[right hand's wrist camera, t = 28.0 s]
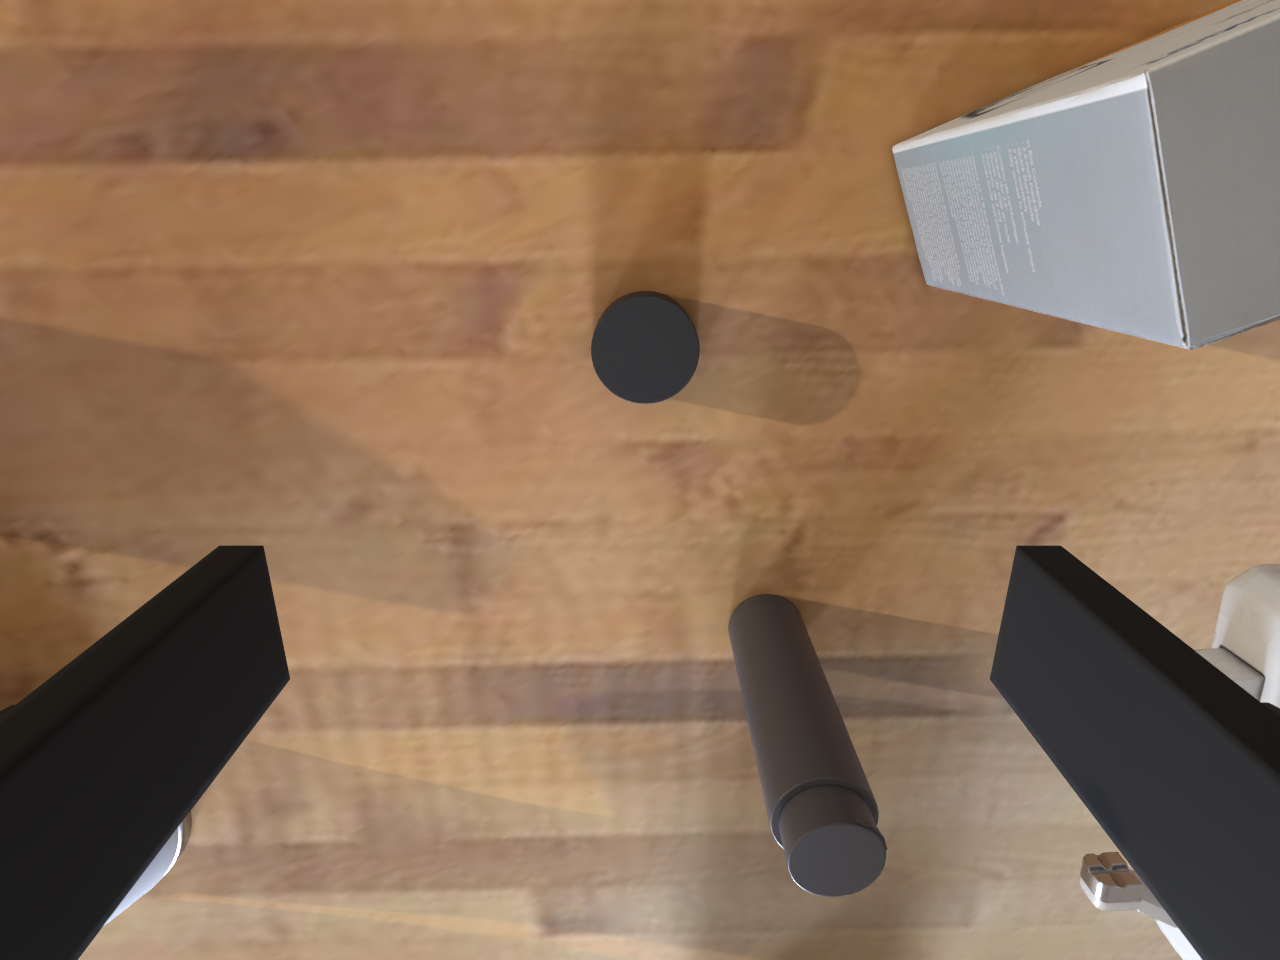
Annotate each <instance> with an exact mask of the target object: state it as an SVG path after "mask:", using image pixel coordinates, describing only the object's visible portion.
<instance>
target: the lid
mask: <svg viewBox="0 0 1280 960" xmlns="http://www.w3.org/2000/svg"><path fill="white" fill-rule="evenodd" d="M591 355H592V362H593V365H594V368H595V371H596V373H597V375H598V377H599V379H600V380H601V382H602V383H603V384H604V385H605V386H606V387H607V388H608V390H610V391H611V392H612V393H613V394H615V395H616V396H618V397H620V398H622V399H624V400H626V401H630V402H633V403H639V404H650V403H657V402H661V401H664V400H666V399H668V398H670V397H672V396H674V395H675V394H677V393H678V392H680V391H681V390H682V389H683V388H684V387H685V386H686V384H687V383H688V382H689V381H690V379H691V378H692V376H693V374H694V372H695V370H696V367H697V364H698V359H699V340H698V336H697V333H696V330H695V327H694V325H693V323H692V321H691V319H690V317H689V316H688V314H687V313H686V311H685V310H684V309H683V308H682V307H681V306H680V305H679V304H678V303H677V302H676V301H674V300H673V299H671V298H670V297H667V296H665V295H663V294H660V293H656V292H650V291H641V292H634V293H630V294H627V295H625V296H623V297H621V298H619V299H617V300H616V301H615V302H613V303H612V304H611V305H610V306H609V307H608V308H607V309H606V310H605V311H604V313H603V314H602V316H601V317H600V319H599V321H598V324H597V326H596V329H595V331H594V334H593V338H592V344H591Z"/></svg>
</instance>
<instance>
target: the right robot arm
mask: <svg viewBox="0 0 1280 960" xmlns="http://www.w3.org/2000/svg"><path fill="white" fill-rule="evenodd" d="M289 680H290V676H289V671H288V666H287V661H286V656H285V651H284V646H283V641H282V636H281V631H280V626H279V622H278V617H277V612H276V607H275V602H274V597H273V592H272V587H271V582H270V577H269V572H268V567H267V562H266V557H265V552H264V547H263V546H218V547H217V548H216V549H215V550H213V551H212V552H211V553H209V554H208V555H207V556H206V557H204V558H203V559H202V560H201V561H199V562H198V563H197V564H195V565H194V566H193V567H192V568H190V569H189V570H188V571H186V572H185V573H184V574H183V575H181V576H180V577H179V578H178V579H176V580H175V581H174V582H172V583H171V584H170V585H169V586H167V587H166V588H165V589H163V590H162V591H161V592H160V593H158V594H157V595H156V596H154V597H153V598H152V599H151V600H149V601H148V602H147V603H146V604H144V605H143V606H142V607H140V608H139V609H138V610H137V611H135V612H134V613H133V614H131V615H130V616H129V617H128V618H126V619H125V620H124V621H123V622H121V623H120V624H119V625H117V626H116V627H115V628H114V629H112V630H111V631H110V632H108V633H107V634H106V635H105V636H103V637H102V638H101V639H100V640H98V641H97V642H96V643H94V644H93V645H92V646H91V647H89V648H88V649H87V650H85V651H84V652H83V653H82V654H80V655H79V656H78V657H77V658H75V659H74V660H73V661H71V662H70V663H69V664H68V665H66V666H65V667H64V668H62V669H61V670H60V671H59V672H57V673H56V674H55V675H54V676H52V677H51V678H50V679H48V680H47V681H46V682H45V683H43V684H42V685H41V686H39V687H38V688H37V689H36V690H34V691H33V692H32V693H31V694H29V695H28V696H27V697H25V698H24V699H23V700H22V701H20V702H19V703H18V704H16V705H11V706H10V707H8V708H6V709H4V710H2V711H0V960H78V959H79V957H80V956H81V955H82V953H83V952H84V951H85V949H86V948H87V947H88V945H89V944H90V943H91V941H92V940H93V939H94V937H95V936H96V935H97V934H98V932H99V931H100V930H101V928H102V927H103V926H105V925H106V924H107V923H108V922H110V921H111V920H112V919H114V918H115V917H116V916H117V915H119V914H120V913H121V912H122V911H124V910H125V909H126V908H127V907H129V906H130V905H131V904H132V903H134V902H135V901H136V900H137V899H139V898H140V897H141V896H143V895H144V894H145V893H147V892H148V891H149V890H150V889H152V888H153V887H154V886H155V885H156V884H157V883H158V882H159V881H160V880H161V879H162V878H163V877H164V876H165V875H166V873H167V872H168V871H169V870H170V868H171V867H172V866H173V864H174V863H175V861H176V860H177V859H178V857H179V856H180V855H181V853H182V851H183V850H184V848H185V846H186V844H187V842H188V839H189V836H190V831H191V809H192V808H193V807H194V805H195V804H196V803H197V801H198V800H199V799H200V797H201V796H202V795H203V793H204V792H205V791H206V789H207V788H208V787H209V786H210V784H211V783H212V782H213V780H214V779H215V778H216V776H217V775H218V774H219V772H220V771H221V770H222V768H223V767H224V766H225V764H226V763H227V762H228V760H229V759H230V758H231V756H232V755H233V754H234V752H235V751H236V750H237V749H238V747H239V746H240V745H241V743H242V742H243V741H244V739H245V738H246V737H247V735H248V734H249V733H250V731H251V730H252V729H253V727H254V726H255V725H256V723H257V722H258V721H259V719H260V718H261V717H262V715H263V714H264V713H265V711H266V710H267V709H268V708H269V706H270V705H271V704H272V702H273V701H274V700H275V698H276V697H277V696H278V694H279V693H280V692H281V690H282V689H283V688H284V686H285V685H286V684H287V682H288V681H289ZM990 680H991V681H992V682H993V684H994V685H995V686H996V688H997V689H998V690H999V692H1000V693H1001V694H1002V696H1003V697H1004V698H1005V700H1006V701H1007V702H1008V704H1009V705H1010V706H1011V708H1012V709H1013V710H1014V712H1015V713H1016V714H1017V715H1018V717H1019V718H1020V719H1021V721H1022V722H1023V723H1024V725H1025V726H1026V727H1027V729H1028V730H1029V731H1030V733H1031V734H1032V735H1033V737H1034V738H1035V739H1036V741H1037V742H1038V743H1039V745H1040V746H1041V747H1042V749H1043V750H1044V751H1045V752H1046V754H1047V755H1048V756H1049V758H1050V759H1051V760H1052V762H1053V763H1054V764H1055V766H1056V767H1057V768H1058V770H1059V771H1060V772H1061V774H1062V775H1063V776H1064V778H1065V779H1066V780H1067V782H1068V783H1069V784H1070V786H1071V787H1072V788H1073V789H1074V791H1075V792H1076V793H1077V795H1078V796H1079V797H1080V799H1081V800H1082V801H1083V803H1084V804H1085V805H1086V807H1087V808H1088V809H1089V811H1090V812H1091V813H1092V815H1093V816H1094V817H1095V819H1096V820H1097V821H1098V823H1099V824H1100V825H1101V826H1102V828H1103V829H1104V830H1105V832H1106V833H1107V834H1108V836H1109V837H1110V838H1111V840H1112V841H1113V842H1114V844H1115V845H1116V846H1117V848H1118V849H1119V850H1120V852H1121V853H1122V854H1123V856H1124V857H1125V858H1126V860H1127V861H1128V862H1129V863H1130V865H1131V866H1132V867H1133V869H1134V870H1135V871H1136V873H1137V874H1138V875H1139V877H1140V878H1141V879H1142V881H1143V882H1144V883H1145V885H1146V886H1147V887H1148V889H1149V890H1150V891H1151V893H1152V894H1153V895H1154V897H1155V898H1156V899H1157V900H1158V902H1159V903H1160V904H1161V906H1162V907H1163V908H1164V910H1165V911H1166V912H1167V914H1168V915H1169V916H1170V918H1171V919H1172V920H1173V922H1174V923H1175V924H1176V926H1177V927H1178V928H1179V930H1180V931H1181V932H1182V934H1183V935H1184V936H1185V937H1186V939H1187V940H1188V941H1189V943H1190V944H1191V945H1192V947H1193V948H1194V949H1195V951H1196V952H1197V953H1198V955H1199V956H1200V957H1201V959H1202V960H1280V708H1278V707H1276V706H1274V705H1272V704H1271V703H1269V702H1260V701H1258V700H1257V699H1256V698H1255V697H1253V696H1252V695H1251V694H1249V693H1248V692H1247V691H1246V690H1244V689H1243V688H1242V687H1241V686H1239V685H1238V684H1237V683H1235V682H1234V681H1233V680H1232V679H1230V678H1229V677H1228V676H1226V675H1225V674H1224V673H1223V672H1221V671H1220V670H1219V669H1218V668H1216V667H1215V666H1214V665H1212V664H1211V663H1210V662H1209V661H1207V660H1206V659H1205V658H1203V657H1202V656H1201V655H1200V654H1198V653H1197V652H1196V651H1195V650H1193V649H1192V648H1191V647H1189V646H1188V645H1187V644H1186V643H1184V642H1183V641H1182V640H1180V639H1179V638H1178V637H1177V636H1175V635H1174V634H1173V633H1172V632H1170V631H1169V630H1168V629H1166V628H1165V627H1164V626H1163V625H1161V624H1160V623H1159V622H1157V621H1156V620H1155V619H1154V618H1152V617H1151V616H1150V615H1149V614H1147V613H1146V612H1145V611H1143V610H1142V609H1141V608H1140V607H1138V606H1137V605H1136V604H1134V603H1133V602H1132V601H1131V600H1129V599H1128V598H1127V597H1126V596H1124V595H1123V594H1122V593H1120V592H1119V591H1118V590H1117V589H1115V588H1114V587H1113V586H1111V585H1110V584H1109V583H1108V582H1106V581H1105V580H1104V579H1102V578H1101V577H1100V576H1099V575H1097V574H1096V573H1095V572H1094V571H1092V570H1091V569H1090V568H1088V567H1087V566H1086V565H1085V564H1083V563H1082V562H1081V561H1079V560H1078V559H1077V558H1076V557H1074V556H1073V555H1072V554H1071V553H1069V552H1068V551H1067V550H1065V549H1064V548H1063V547H1062V546H1017V547H1016V552H1015V557H1014V562H1013V567H1012V572H1011V577H1010V582H1009V587H1008V592H1007V597H1006V602H1005V607H1004V612H1003V617H1002V621H1001V626H1000V631H999V636H998V641H997V646H996V651H995V656H994V661H993V666H992V671H991V676H990Z"/></svg>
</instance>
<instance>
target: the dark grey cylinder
mask: <svg viewBox="0 0 1280 960" xmlns="http://www.w3.org/2000/svg"><path fill="white" fill-rule="evenodd" d="M729 636H730V640H731V645H732V650H733V654H734V659H735V664H736V668H737V673H738V678H739V682H740V687H741V692H742V696H743V701H744V706H745V710H746V715H747V720H748V725H749V729H750V734H751V739H752V743H753V748H754V753H755V757H756V762H757V767H758V771H759V776H760V781H761V785H762V790H763V795H764V799H765V804H766V809H767V813H768V818H769V823H770V827H771V831H772V834H773V836H774V838H775V840H776V841H777V843H778V844H779V845H780V846H781V847H782V848H783V849H784V852H785V857H786V861H787V866H788V870H789V873H790V875H791V877H792V878H793V880H794V881H795V882H796V883H797V884H798V885H799V886H800V887H801V888H803V889H804V890H806V891H808V892H810V893H812V894H815V895H819V896H825V897H840V896H846V895H850V894H853V893H856V892H859V891H861V890H863V889H864V888H866V887H868V886H869V885H870V884H872V883H873V882H874V881H875V880H876V879H877V878H878V876H879V875H880V874H881V872H882V870H883V868H884V865H885V860H886V850H887V847H886V843H885V839H884V837H883V836H882V834H881V833H880V831H879V830H878V828H877V827H876V826H877V822H878V807H877V804H876V801H875V799H874V796H873V794H872V791H871V789H870V786H869V784H868V781H867V779H866V776H865V774H864V771H863V769H862V766H861V764H860V761H859V759H858V756H857V754H856V751H855V749H854V747H853V744H852V742H851V739H850V737H849V734H848V732H847V729H846V727H845V724H844V722H843V719H842V717H841V714H840V712H839V709H838V707H837V704H836V702H835V699H834V697H833V694H832V692H831V689H830V687H829V684H828V682H827V680H826V677H825V675H824V672H823V670H822V667H821V665H820V662H819V660H818V657H817V655H816V652H815V650H814V647H813V645H812V642H811V640H810V637H809V635H808V632H807V630H806V627H805V625H804V622H803V620H802V617H801V615H800V613H799V611H798V609H797V608H796V607H795V605H793V604H792V603H791V602H790V601H789V600H787V599H785V598H783V597H780V596H776V595H758V596H755V597H752V598H750V599H747V600H746V601H744V602H743V603H741V604H740V605H739V606H738V607H737V608H736V609H735V611H734V612H733V614H732V616H731V618H730V621H729Z"/></svg>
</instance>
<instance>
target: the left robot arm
mask: <svg viewBox="0 0 1280 960" xmlns="http://www.w3.org/2000/svg"><path fill="white" fill-rule="evenodd" d="M1195 651H1196V652H1197V653H1198V654H1200V655H1201V656H1202V657H1203V658H1205V659H1206V660H1207V661H1209V662H1210V663H1211V664H1212V665H1214V666H1215V667H1216V668H1218V669H1219V670H1220V671H1221V672H1223V673H1224V674H1225V675H1226V676H1228V677H1229V678H1230V679H1232V680H1233V681H1234V682H1235V683H1237V684H1238V685H1239V686H1241V687H1242V688H1243V689H1244V690H1246V691H1247V692H1248V693H1249V694H1251V695H1252V696H1253V697H1255V698H1256V699H1257V700H1258V701H1260V702H1269V703H1271V704H1272V705H1274V706H1276V707H1278V708H1280V564H1264V565H1257V566H1253V567H1251V568H1249V569H1248V570H1246V571H1244V572H1243V573H1241V574H1240V575H1238V576H1237V577H1235V578H1234V579H1232V580H1231V581H1230V582H1228V583H1227V585H1226V586H1225V588H1224V592H1223V596H1222V601H1221V605H1220V610H1219V615H1218V620H1217V624H1216V629H1215V634H1214V639H1213V643H1212V648H1211V649H1202V650H1195ZM1080 874H1081V875H1080V881H1079V883H1080V886H1081V887H1082V889H1083V890H1084V892H1085V893H1086V895H1087V896H1088V898H1089V899H1090V901H1091V902H1092V903H1093V905H1094V906H1096V907H1097V908H1099V909H1100V910H1104V911H1120V910H1138V911H1139V912H1141V913H1143V914H1145V915H1148V916H1150V917H1152V918H1154V919H1156V922H1157V924H1158V926H1159V927H1160V929H1161V930H1162V932H1163V933H1164V935H1165V936H1166V937H1167V939H1168V940H1169V941H1170V943H1171V944H1172V946H1173V947H1174V948H1175V950H1176V951H1177V952H1178V954H1179V955H1180V956H1181V957H1182V959H1183V960H1202V959H1201V957H1200V956H1199V955H1198V953H1197V952H1196V951H1195V949H1194V948H1193V947H1192V945H1191V944H1190V943H1189V941H1188V940H1187V939H1186V937H1185V936H1184V935H1183V934H1182V932H1181V931H1180V930H1179V928H1178V927H1177V926H1176V924H1175V923H1174V922H1173V920H1172V919H1171V918H1170V916H1169V915H1168V914H1167V912H1166V911H1165V910H1164V908H1163V907H1162V906H1161V904H1160V903H1159V902H1158V900H1157V899H1156V898H1155V897H1154V895H1153V894H1152V893H1151V891H1150V890H1149V889H1148V887H1147V886H1146V885H1145V883H1144V882H1143V881H1142V879H1141V878H1140V877H1139V875H1138V874H1137V873H1136V871H1133V870H1130V869H1129V868H1128V866H1127V864H1126V862H1125V861H1124V860H1123V858H1122V857H1121V856H1120V855H1119V853H1118V852H1108V853H1102V854H1100V855H1098V856H1097V855H1095V854H1086V855H1085V856H1084V857H1083V862H1082V868H1081V873H1080Z"/></svg>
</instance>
